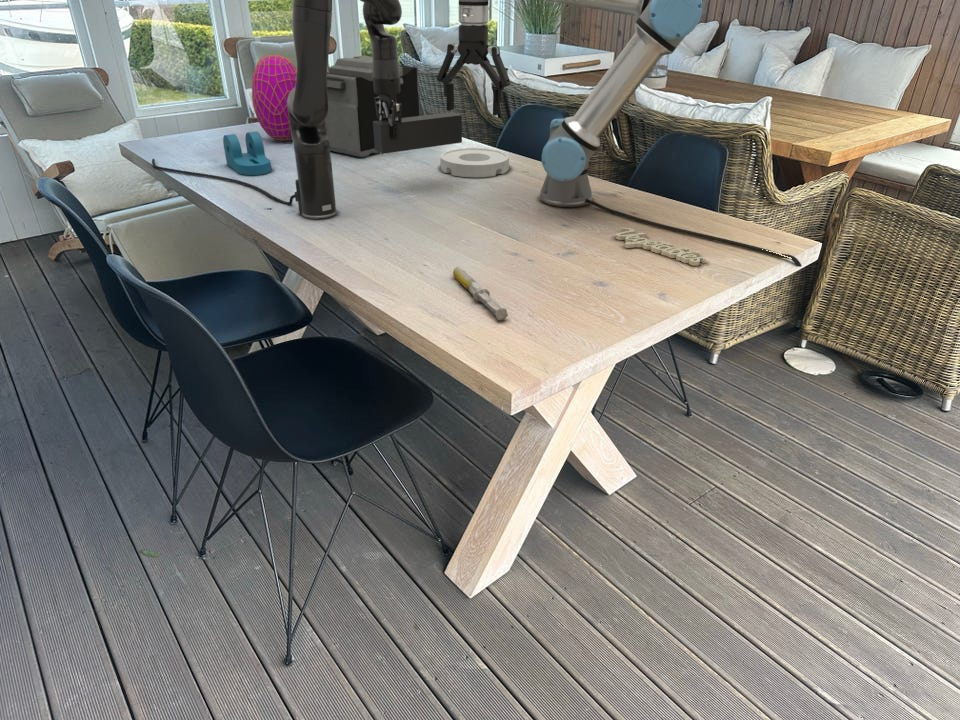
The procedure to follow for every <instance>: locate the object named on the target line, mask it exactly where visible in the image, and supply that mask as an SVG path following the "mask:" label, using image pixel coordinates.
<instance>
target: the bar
mask: <svg viewBox="0 0 960 720" xmlns="http://www.w3.org/2000/svg"><path fill="white" fill-rule="evenodd" d="M373 131H374V144H375V150H376V151H378V152H380V153H379V154H381V155H384V154H393V153H398V152H405V151H413V150H420V149H426V148H435V147H440V146H441V147H442V146H448V145H453V144H455V145H457V144H462V143H463V115H462V114H459V113H457V112H454V111H448V112H442V113H433V114H425V115H424V114H423V115H420V116H415V117H406V118H402V122H401V125H399V126H398V139H396V140H392V139H391V138H390V124H389V120H381V121H373Z"/></svg>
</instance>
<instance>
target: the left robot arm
mask: <svg viewBox="0 0 960 720" xmlns="http://www.w3.org/2000/svg"><path fill="white" fill-rule="evenodd" d="M359 1H360V2H362V3H363V4H362V16H363V20H364V24H365V26H366V30H367V33H368V37H369V40H370V43H371V57H372V72H373V86H374V93H375V94H377V95H379V97H375V98H374V100H375V107H376V114H377V118H378V119H379V120H380V121H381V120H389V124H390V138H391V139H392V140H396V139H398V126H399V125H401V122H402V104H401V103H400V104H398V103H397V100H396V94H399V93H400V74H399V65H400V64H399V56H398V54H399V52H398V40H397V37H396V36H395V35H394V34H391V33H388V32H387V31H386V28H385V26H386V25H387V26H394V25H396V24H399V22H400V21H401V19H402V15H403V9H402V5H401V2H400V0H359ZM291 9H292V11H291V12H292V14H291V27H292V39H293V47H294V54H295V60H296V61H295V62H296V69H297V75H296V86H295V88H294V89H292V91H291V92H290V94H289V96H288V100H287V107H288V115H289V122H290V129H291V136H292V139H291V140H292V144H293V149H294V158H295V165H296V174H297V179H295V189H296V191H294V194H293V195H290V196H289V197H290V198H289V201H285V200H282V199H280V198H278V197H277V196H275V195H273V194H271V193H269V192H268V191H266V190H264V189H262V188H260V187H259V186H257V185H254V184H251V183H248V182H245V181H242V180H238V179H235V178H230V177H225V176H220V175H214V174H209V173H201V172H194V171H187V170H180V169H176V168H170V167H162V166H159V165H156V159H155V158H152V159H151V163H152V166H153V168H155V169H157V170H162V171H167V172H174V173H178V174H186V175H192V176H198V177H199V176H200V177H205V178H212V179H217V180H223V181H228V182H231V183H237V184H240V185H243V186H246V187H248V188H249V187H250V188H252V189H254V190H256V191H258V192H260V193H262V194H264V195H266V196H267V197H269V198H270V199H272V200H275V202H276V201H277V202H278V203H280V204H284V205H287V206H290V205H292V204H293V201H294V200H293V199H295V202H296V203H297V204H298V214H299V215H301V216H302V217H304V218H306V219H310V220H311V219H312V220H322V219H323V220H324V219H328V218H332V217H334V216H336V215H337V213H338V211H337V205H336V194H335V184H334V175H333V173H334V172H333V165H332V154H331V151H330V143H329V139H328V135H327V131H326V125H325V118H326V117H327V113H328V94H327V72H328V63H329V55H330V46H331V45H330V44H331V43H330V42H331V34H332V33H331V32H332V22H333V21H332V20H333V19H332V18H333V0H292V8H291ZM390 114H392V115H390ZM391 118H392V119H391Z"/></svg>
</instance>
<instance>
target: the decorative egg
mask: <svg viewBox="0 0 960 720" xmlns="http://www.w3.org/2000/svg"><path fill="white" fill-rule="evenodd" d="M253 70H254V71H253V73H252V77H251V101H252V107H253V110H254V114H255V116H256V118H257V121H258V123H259V125H260V127H261V128H262V130H263V131H264V133H266V135H267V136H268V137H270V138H271V139H273V140H275V141H282V142H286V141H291V140H292V136H291V129H290V122H289V115H288V107H287V100H288V96H289V94H290V92H291V91H292V89H294V88H295V86H296V75H297V67H296V65H294V63H293V62H292V61H291V60H290V59H288V58H287V57H285V56H282V55H280V54H268V55H265V56H262V57H261V58H260V59H259V60H258V61H257V62H256V65H255V68H254V69H253Z"/></svg>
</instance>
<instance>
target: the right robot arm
mask: <svg viewBox="0 0 960 720" xmlns="http://www.w3.org/2000/svg"><path fill="white" fill-rule="evenodd" d="M547 1H548V2H554V3H559V4H564V5H569V6H575V7H582V8H587V9H592V10H596V11H597V10H598V11H603V12H609V13H615V14H620V15H626V16H631V17H634V18H635V22H634V34H633V35H632V37H631V38H630V40H629V41H628V42H627V44H626V45H625V46H624V47H623V49H622V50H621V52H620V53H619V54H618V56H617V57H616V58H615V60H614V61H613V62H612V64H611V65H610V67H609V68H608V69H607V71H606V72H605V73H604V75H602V77H601V79H600V80H599V81H598V83H597V84H596V86H594V88H593V90H592V91H591V92H590V93H589V95H588V96H587V97H586V99H585V100H584V102H583V103H582V105H581V106H580V107H579V109H578V110H577V111H576V112H575V114H574V115H573V116H567V117H565V118H554V119H552V120H551V122H550V125H549V139H548V140H547V142H546V144H544V146H543V148H542V151H541V164H542V167H543V170H544V171H545V173H546V176H545V178H544V181H543V184H542V187H541V189H540V192H539V200H540V202H542V203H543V204H546V205H549V206H553V207H558V208H559V207H560V208H580V207H584V206H588V205H592V206H595V207H596V208H599V209H601V210H603V211H605V212H608V213H611V214H613V215H617V216H620V217H623V218H626V219H629V220H632V221H636V222H639V223H641V224H642V223H643V224H645V225H650V226H653V227H657V228H660V229H664V230H669V231H671V232H672V231H673V232H677V233H681V234H685V235H690V236H694V237H697V238H703V239H707V240H711V241H715V242H719V243H723V244H728V245H732V246H736V247H740V248H744V249H748V250H751V251H756V252H759V253H762V254H767V255H770V256H773V257H777V258H780V259H787V260H791V261H792V262H793V263H794V264H795V265H796V267H799V268H801V267H802V264H801V262H800V261H799V259H798V258H797V257H796V256H794V255H791V254H788V253H781V254H782V255H785V256H788V257H791V258H792V259H789V258H787V257H784V256H781V255H779V254H776V253H773V252H775V251H774V250H770V249H767V248H764V247H760V246H755V245H751V244H747V243H743V242H740V241H736V240H732V239H727V238H724V237H723V238H722V237H718V236H714V235H710V234H705V233H701V232H697V231H693V230H688V229H683V228H679V227H675V226H671V225H667V224H664V223H660V222H655V221H652V220H649V219H645V218H641V217H637V216H634V215H631V214H629V213H628V214H627V213H625V212H622V211H619V210H616V209H612V208H609V207H607V206H605V205H602V204H600V203H598V202H595V201H593V200H592V199H593V193H592V188H591V184H590V179H589V165H590V164H589V163H590V159H591V158H592V157H593V155H594V154H595V153H596V152H597V151H598V149H599V147H601V136H602V135H603V133H604V132H605V130H606V129H607V128H608V127H609V125H610V124H611V123H612V121H613V120H614V119H615V118H616V117H617V115H618V114H619V113H620V111H621V110H622V109H623V107H624V106H625V105H626V103H627V102H628V101H629V100H630V98H631V96H633V94H634V93H635V92H636V90H637V89H638V88H639V87H640V85H641V84H642V83H643V81H645V79H646V77H648V75H649V74H650V72H651V71H652V70H653V69H654V67H655V66H656V65H657V64H658V62H659V61H660V60H661V58H662V57H663V56H668V55H671V54H673V53H674V52H675V50H676V49H677V48H678V46H680V45H681V43H682V42H683V41H684V39H685V38H686V37H687V36H688V35H690V33H692V32H693V31H694V30H695V29H696V27H697V26H698V24H699V23H700V21H701V19H702V15H703V10H704V2H703V0H546V2H547ZM489 3H490V2H489V0H458V22H459V23H460V24H459V25H458V44H456V43H454V42H453V43H448V44H447V48H446V54H445V57H444V59H443V62H442V64H441V67H440V69H439V71H438V74H437V76H436V81H437V82H440V83H442V85H443V97H445V98H446V111H447V112H451V111H452V110H454V109H455V93H454V92H455V91H454V90H455V86H454V85H455V84H454V83H452V81H453V80H454V78H455V77H456V76H457V74H458V73H459V71H460V70H461V69H462V68H463V66H464V65H465V64H466V65H471V64H472V65H475V66H477V65H480V67H481V68H482V69H483V70H484V72H485V73H486V74H487V76H488V77H489V79H490V81H491V82H492V83H493V85H494V87H495V88H493V90H492V116H493V117H494V116H495V117H497V116H498V115H500V113H501V111H500V109H501V103H502V102H503V100H504V88H506V87H510V85H511V80H510V78H509V75H508V73H507V69H506V67H505V64H504V62H503V59H502V57H501V51H500V49H501V48H500V46H498V45H496V46H489V44H488V43H489V26H488V25H487V24H488V23H489ZM457 52H458V54H459V55H460V56H459V57H458V58H457V60H456V61H455V63H454V65H453V66H452V68H451V64H452V63H453V61H454V57H455V54H457ZM488 55H490V56H491V58H492V61H493V64H494V67H495V68H494V67H493V65H492V64H491V61H490V59H489V58H488ZM450 68H451V69H450ZM449 69H450V70H449ZM495 69H496V70H495ZM762 249H763V250H762ZM766 250H768V251H766ZM769 251H773V252H769Z"/></svg>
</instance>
